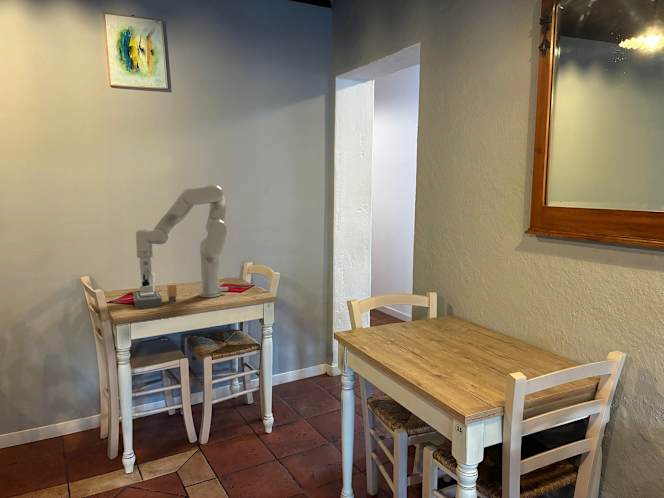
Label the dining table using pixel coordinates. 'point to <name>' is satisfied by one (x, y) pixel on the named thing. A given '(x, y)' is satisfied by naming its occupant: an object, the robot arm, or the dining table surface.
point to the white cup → (150, 280)
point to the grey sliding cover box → (147, 300)
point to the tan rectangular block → (171, 292)
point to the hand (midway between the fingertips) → (145, 288)
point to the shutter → (146, 291)
